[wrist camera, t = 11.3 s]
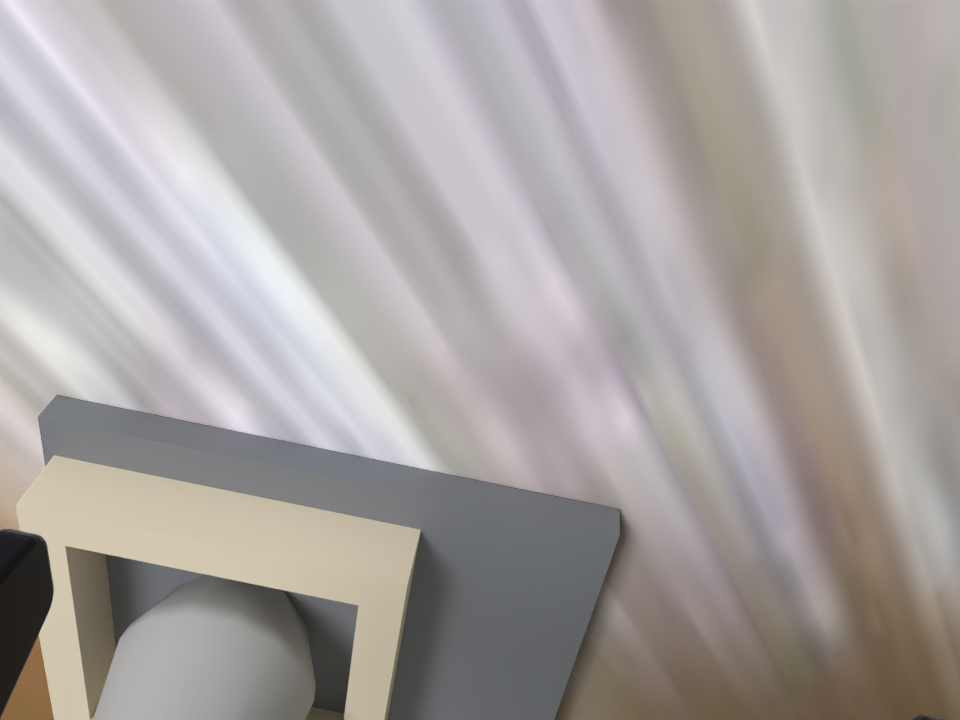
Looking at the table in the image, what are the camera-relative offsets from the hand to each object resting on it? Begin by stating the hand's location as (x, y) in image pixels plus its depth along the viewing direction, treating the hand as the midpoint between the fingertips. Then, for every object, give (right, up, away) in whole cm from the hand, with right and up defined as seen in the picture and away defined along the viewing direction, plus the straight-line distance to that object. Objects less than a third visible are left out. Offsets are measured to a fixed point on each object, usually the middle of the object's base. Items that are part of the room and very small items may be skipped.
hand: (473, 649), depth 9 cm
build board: (-5, -5, +20) cm, 21 cm away
